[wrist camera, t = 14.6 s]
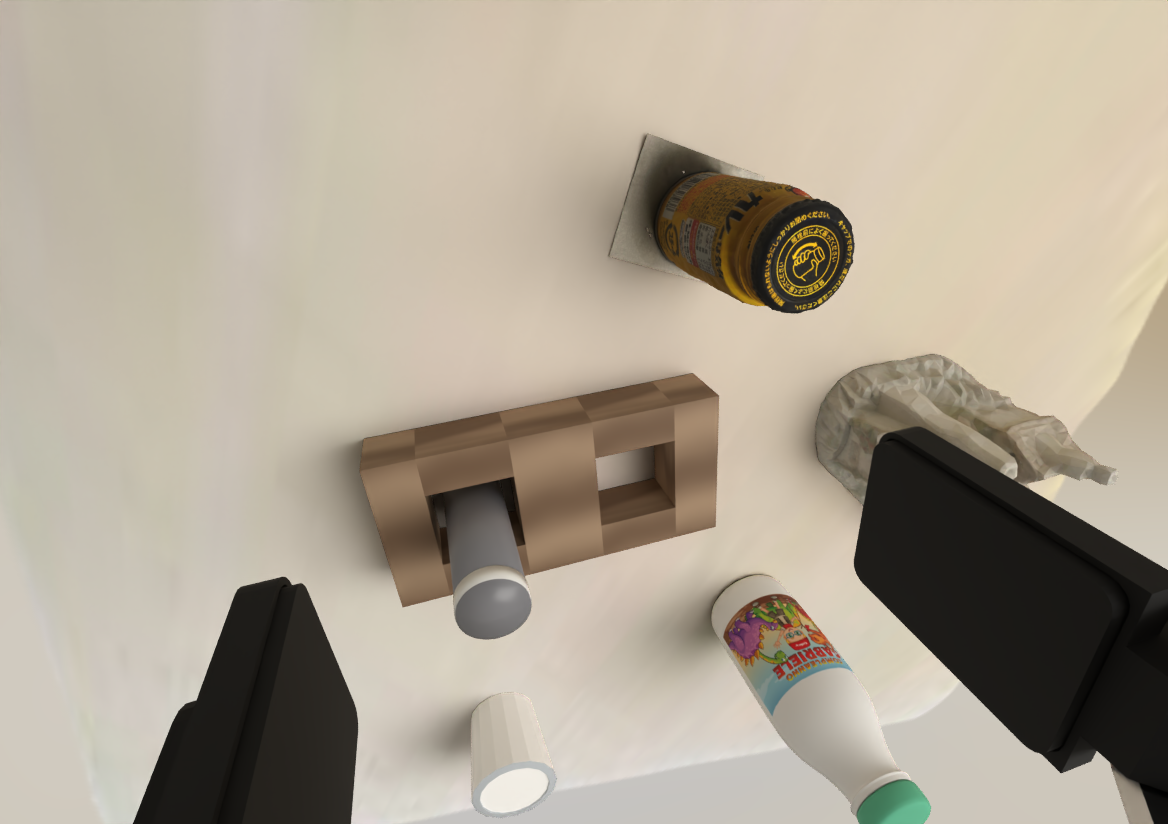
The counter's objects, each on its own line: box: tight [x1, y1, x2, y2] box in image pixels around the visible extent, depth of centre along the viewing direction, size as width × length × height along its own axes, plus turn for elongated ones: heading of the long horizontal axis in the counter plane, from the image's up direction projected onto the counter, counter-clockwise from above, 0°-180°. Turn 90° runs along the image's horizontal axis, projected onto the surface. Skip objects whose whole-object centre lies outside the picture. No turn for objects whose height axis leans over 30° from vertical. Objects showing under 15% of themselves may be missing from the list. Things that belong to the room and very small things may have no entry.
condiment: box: [609, 134, 854, 313], centre depth 31 cm, size 7×8×12 cm
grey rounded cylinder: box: [443, 480, 532, 639], centre depth 36 cm, size 4×4×12 cm
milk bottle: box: [711, 575, 931, 824], centre depth 46 cm, size 8×8×20 cm
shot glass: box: [471, 692, 557, 818], centre depth 49 cm, size 7×7×7 cm
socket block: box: [359, 374, 719, 607], centre depth 40 cm, size 11×23×4 cm, turn 95°
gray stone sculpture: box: [816, 354, 1118, 506], centre depth 45 cm, size 16×16×15 cm
